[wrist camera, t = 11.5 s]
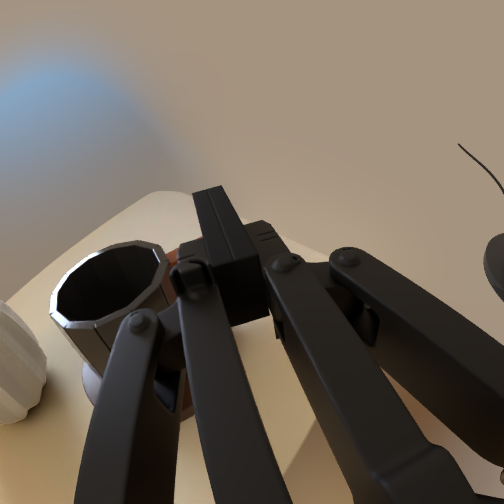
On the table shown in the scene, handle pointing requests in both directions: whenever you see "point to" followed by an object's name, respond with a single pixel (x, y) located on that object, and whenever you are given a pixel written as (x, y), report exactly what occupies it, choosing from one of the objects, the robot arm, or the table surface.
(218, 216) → the robot arm
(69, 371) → the table surface
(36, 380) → the vase
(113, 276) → the mug
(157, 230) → the table surface
